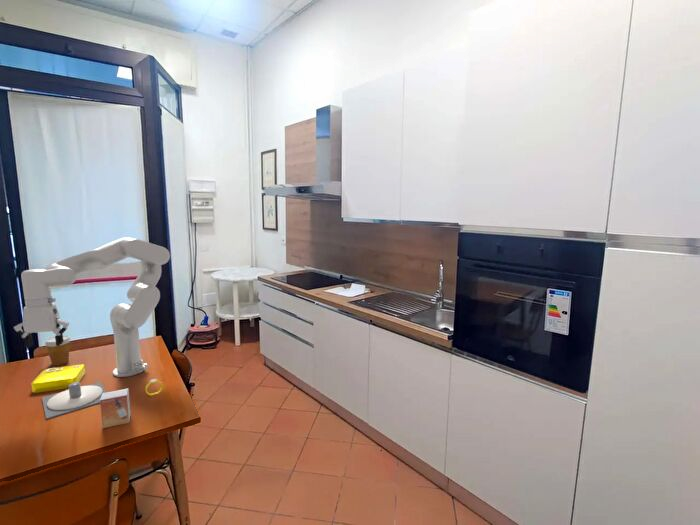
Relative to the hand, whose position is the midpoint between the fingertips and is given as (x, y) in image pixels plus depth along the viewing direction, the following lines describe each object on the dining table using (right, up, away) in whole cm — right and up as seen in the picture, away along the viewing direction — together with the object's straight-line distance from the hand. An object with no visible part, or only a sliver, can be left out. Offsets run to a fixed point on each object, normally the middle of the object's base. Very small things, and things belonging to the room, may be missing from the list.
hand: (44, 345), depth 135 cm
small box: (+35, -24, -11) cm, 44 cm away
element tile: (-8, -20, +17) cm, 27 cm away
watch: (+38, -22, +8) cm, 44 cm away
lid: (+10, -21, +3) cm, 23 cm away
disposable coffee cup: (-23, -17, +35) cm, 45 cm away
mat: (+10, -22, +3) cm, 24 cm away
